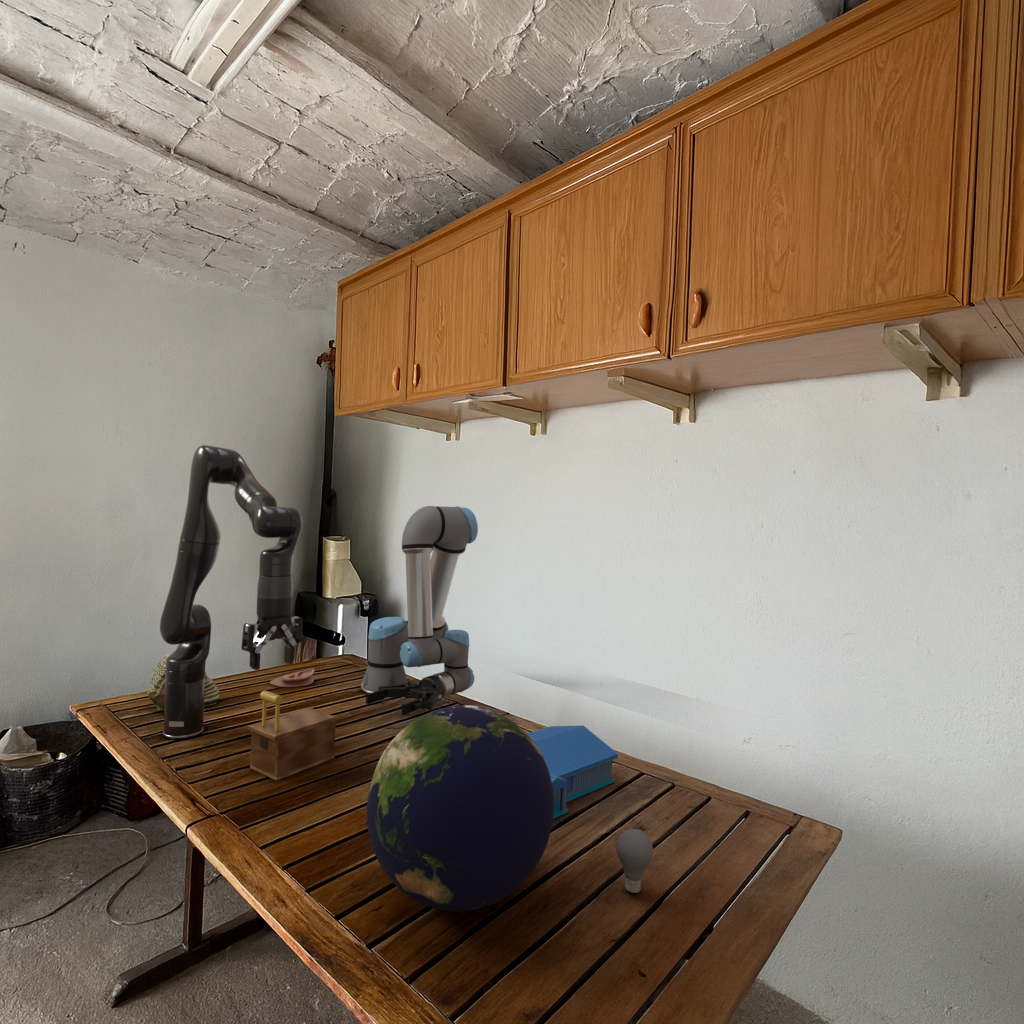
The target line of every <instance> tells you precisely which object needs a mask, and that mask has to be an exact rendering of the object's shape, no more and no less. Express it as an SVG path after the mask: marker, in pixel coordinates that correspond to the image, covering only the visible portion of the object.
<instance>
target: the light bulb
mask: <svg viewBox="0 0 1024 1024" xmlns="http://www.w3.org/2000/svg"><path fill="white" fill-rule="evenodd" d="M615 849H616V854H617V857H618V859H619V861H620V863H621V865H622V867H623V873H624V874H623V875H624V876H625V878H624V888H625V890H627V891H628V892H630V893H634V894H635V893H639V892H640V891H641V889H642V887H641V886H642V879H643V877H644V875H645V871H646V868H647V867H648V866H649V864H650V863H651V861H652V859H653V855H654V847H653V843H652V841H651V838H649V836H648V835H647V834H646V833H645V832H643V831H642V830H641V829H636V828H629V829H627V830H625V831H623V832H622V833H621V834H620V835H619V837H618V839H617V841H616V847H615Z"/></svg>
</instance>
